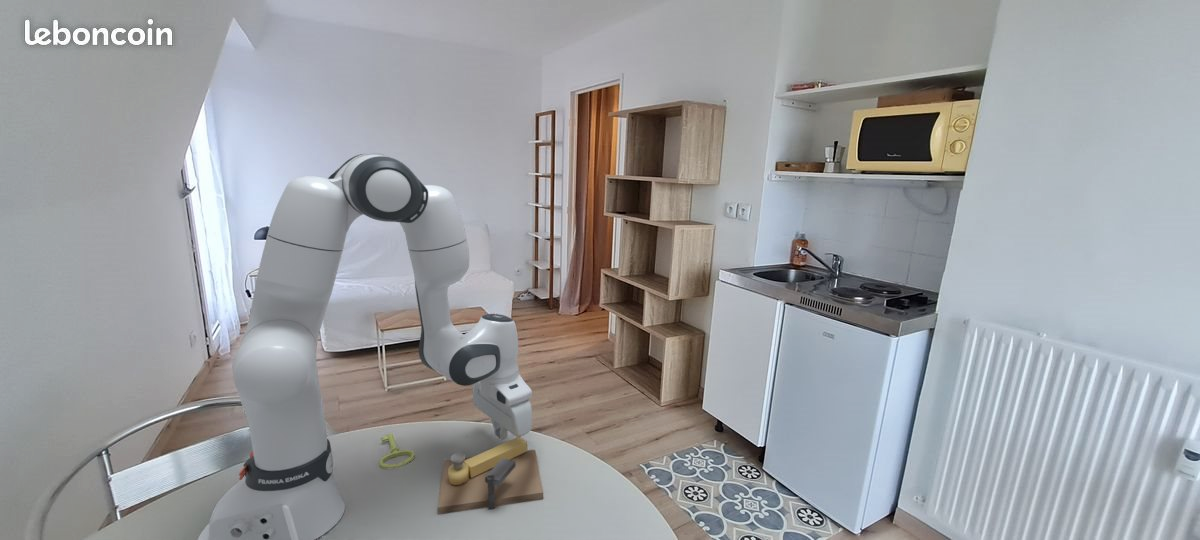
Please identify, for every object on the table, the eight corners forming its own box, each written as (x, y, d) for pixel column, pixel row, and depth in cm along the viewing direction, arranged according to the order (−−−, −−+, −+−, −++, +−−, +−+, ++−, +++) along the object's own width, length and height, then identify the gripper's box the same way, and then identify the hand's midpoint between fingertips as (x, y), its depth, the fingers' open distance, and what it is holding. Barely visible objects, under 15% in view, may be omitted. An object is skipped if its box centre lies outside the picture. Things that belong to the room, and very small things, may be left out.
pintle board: (437, 519, 88) (435, 487, 87) (444, 466, 104) (442, 438, 103) (544, 503, 93) (543, 473, 92) (535, 455, 109) (535, 428, 107)
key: (391, 439, 114) (391, 431, 114) (418, 460, 107) (418, 451, 106) (361, 452, 109) (360, 444, 109) (387, 475, 101) (386, 467, 101)
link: (454, 487, 95) (453, 477, 94) (445, 478, 97) (444, 467, 97) (528, 452, 107) (528, 442, 106) (518, 444, 110) (518, 435, 109)
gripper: (464, 371, 113) (467, 423, 116) (512, 403, 99) (513, 461, 102) (488, 364, 118) (489, 415, 120) (536, 393, 103) (537, 450, 106)
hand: (501, 436), depth 111 cm, fingers closed
